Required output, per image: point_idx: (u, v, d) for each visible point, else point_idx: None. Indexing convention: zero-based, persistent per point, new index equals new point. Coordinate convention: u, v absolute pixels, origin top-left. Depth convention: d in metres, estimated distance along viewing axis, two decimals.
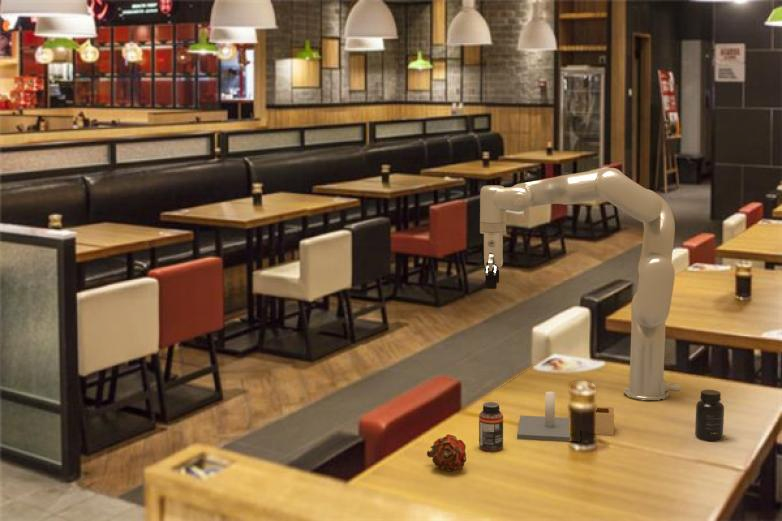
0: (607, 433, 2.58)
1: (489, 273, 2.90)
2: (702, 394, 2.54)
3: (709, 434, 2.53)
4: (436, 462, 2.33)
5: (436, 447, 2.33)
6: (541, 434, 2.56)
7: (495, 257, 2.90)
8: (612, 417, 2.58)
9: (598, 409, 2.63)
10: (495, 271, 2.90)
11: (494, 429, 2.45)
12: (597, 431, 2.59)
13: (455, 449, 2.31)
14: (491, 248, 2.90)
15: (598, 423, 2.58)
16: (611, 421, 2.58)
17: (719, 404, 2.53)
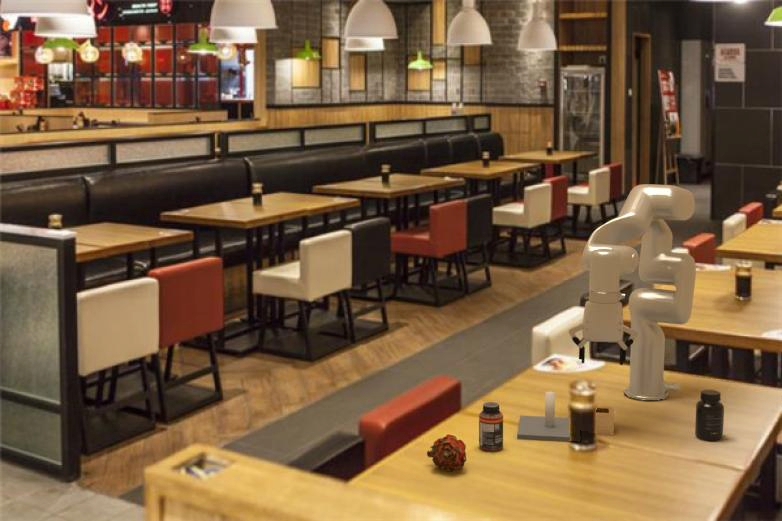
0: (607, 433, 2.58)
1: None
2: (702, 394, 2.54)
3: (709, 434, 2.53)
4: (436, 462, 2.33)
5: (436, 447, 2.33)
6: (541, 434, 2.56)
7: None
8: (612, 417, 2.58)
9: (598, 409, 2.63)
10: (625, 342, 2.59)
11: (494, 429, 2.45)
12: (597, 431, 2.59)
13: (455, 449, 2.31)
14: None
15: (598, 423, 2.58)
16: (611, 421, 2.58)
17: (719, 404, 2.53)
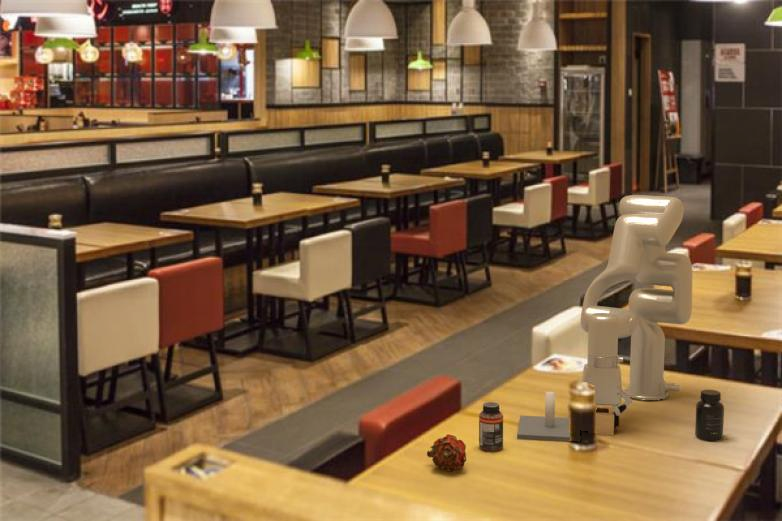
0: (607, 433, 2.58)
1: None
2: (702, 394, 2.54)
3: (709, 434, 2.53)
4: (436, 462, 2.33)
5: (436, 447, 2.33)
6: (541, 434, 2.56)
7: None
8: (612, 417, 2.58)
9: (598, 409, 2.63)
10: (619, 408, 2.62)
11: (494, 429, 2.45)
12: (597, 431, 2.59)
13: (455, 449, 2.31)
14: None
15: (598, 422, 2.58)
16: (611, 421, 2.58)
17: (719, 404, 2.53)
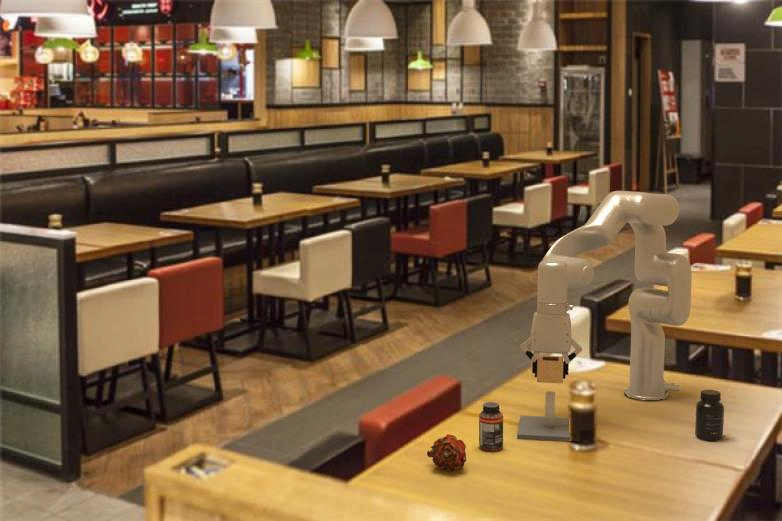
0: (556, 381, 2.56)
1: None
2: (702, 394, 2.54)
3: (709, 434, 2.53)
4: (436, 462, 2.33)
5: (436, 447, 2.33)
6: (541, 434, 2.56)
7: None
8: (561, 365, 2.56)
9: (548, 358, 2.61)
10: None
11: (494, 429, 2.45)
12: (546, 379, 2.57)
13: (455, 449, 2.31)
14: None
15: (547, 370, 2.56)
16: (560, 369, 2.56)
17: (719, 404, 2.53)
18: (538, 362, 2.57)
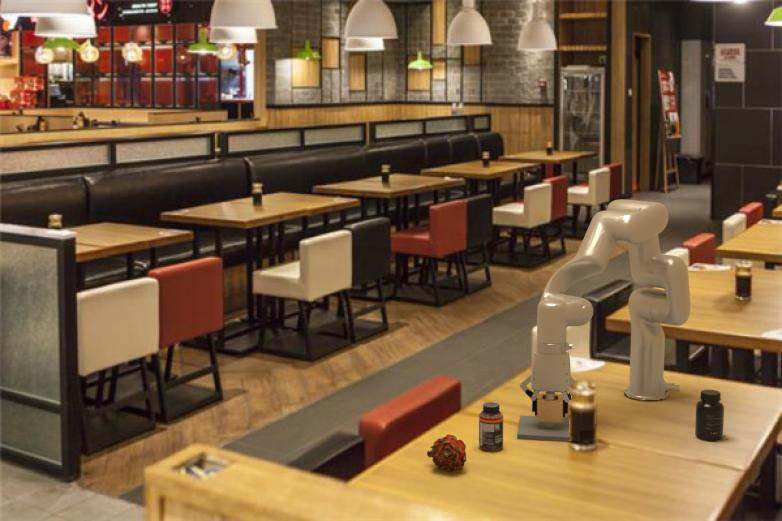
0: (556, 420, 2.58)
1: None
2: (702, 394, 2.54)
3: (709, 434, 2.53)
4: (436, 462, 2.33)
5: (436, 447, 2.33)
6: (541, 434, 2.56)
7: None
8: (561, 404, 2.57)
9: None
10: None
11: (494, 429, 2.45)
12: (546, 418, 2.59)
13: (455, 449, 2.31)
14: (570, 368, 2.59)
15: (547, 409, 2.58)
16: (560, 408, 2.58)
17: (719, 404, 2.53)
18: (538, 401, 2.58)
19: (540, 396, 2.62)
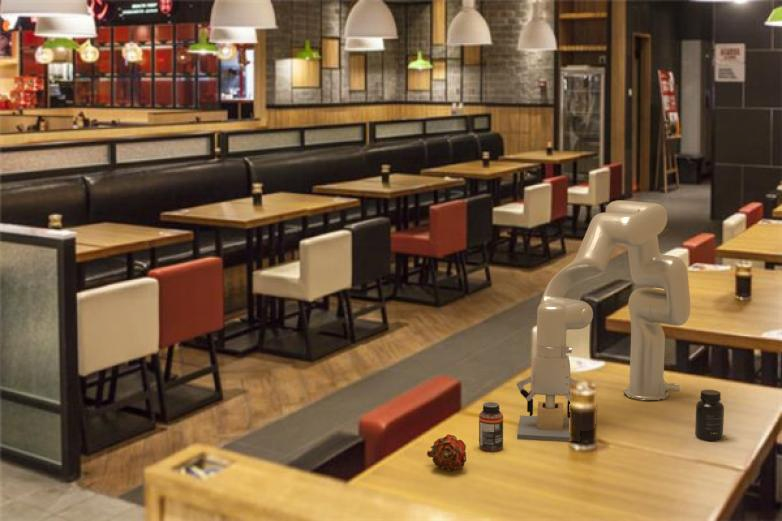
0: (556, 428, 2.59)
1: None
2: (702, 394, 2.54)
3: (709, 434, 2.53)
4: (436, 462, 2.33)
5: (436, 447, 2.33)
6: (541, 434, 2.56)
7: None
8: (561, 412, 2.58)
9: None
10: None
11: (494, 429, 2.45)
12: (546, 426, 2.59)
13: (455, 449, 2.31)
14: None
15: (547, 418, 2.59)
16: (560, 416, 2.58)
17: (719, 404, 2.53)
18: (538, 410, 2.59)
19: (540, 404, 2.62)
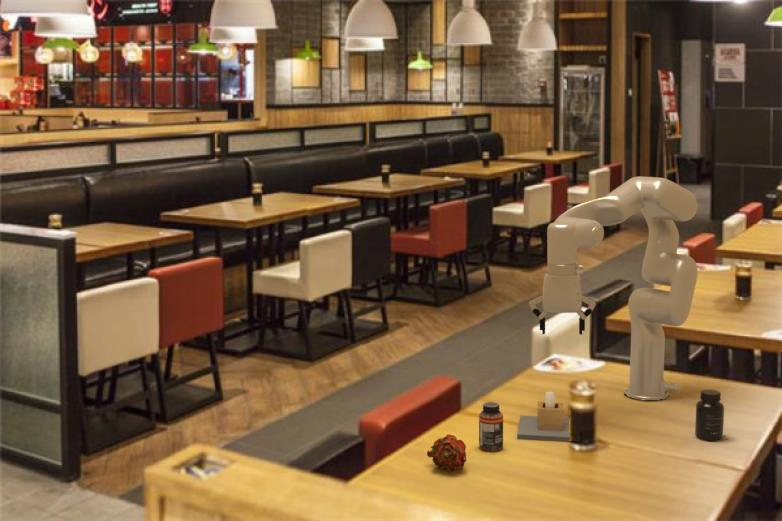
0: (556, 428, 2.59)
1: None
2: (702, 394, 2.54)
3: (709, 434, 2.53)
4: (436, 462, 2.33)
5: (436, 447, 2.33)
6: (541, 434, 2.56)
7: None
8: (561, 412, 2.58)
9: None
10: (584, 312, 2.65)
11: (494, 429, 2.45)
12: (546, 426, 2.59)
13: (455, 449, 2.31)
14: None
15: (547, 418, 2.59)
16: (560, 416, 2.58)
17: (719, 404, 2.53)
18: (538, 410, 2.59)
19: (540, 404, 2.62)
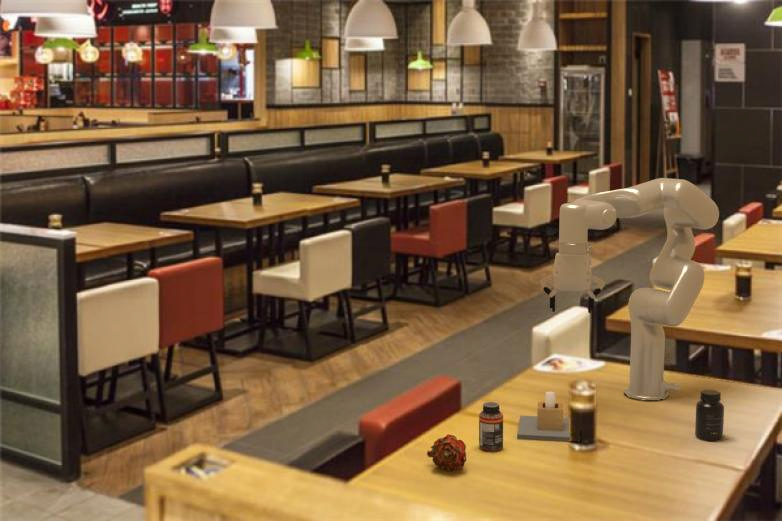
0: (556, 428, 2.59)
1: (596, 295, 2.71)
2: (702, 394, 2.54)
3: (709, 434, 2.53)
4: (436, 462, 2.33)
5: (436, 447, 2.33)
6: (541, 434, 2.56)
7: None
8: (561, 412, 2.58)
9: None
10: None
11: (494, 429, 2.45)
12: (546, 426, 2.59)
13: (455, 449, 2.31)
14: None
15: (547, 418, 2.59)
16: (560, 416, 2.58)
17: (719, 404, 2.53)
18: (538, 410, 2.59)
19: (540, 404, 2.62)
